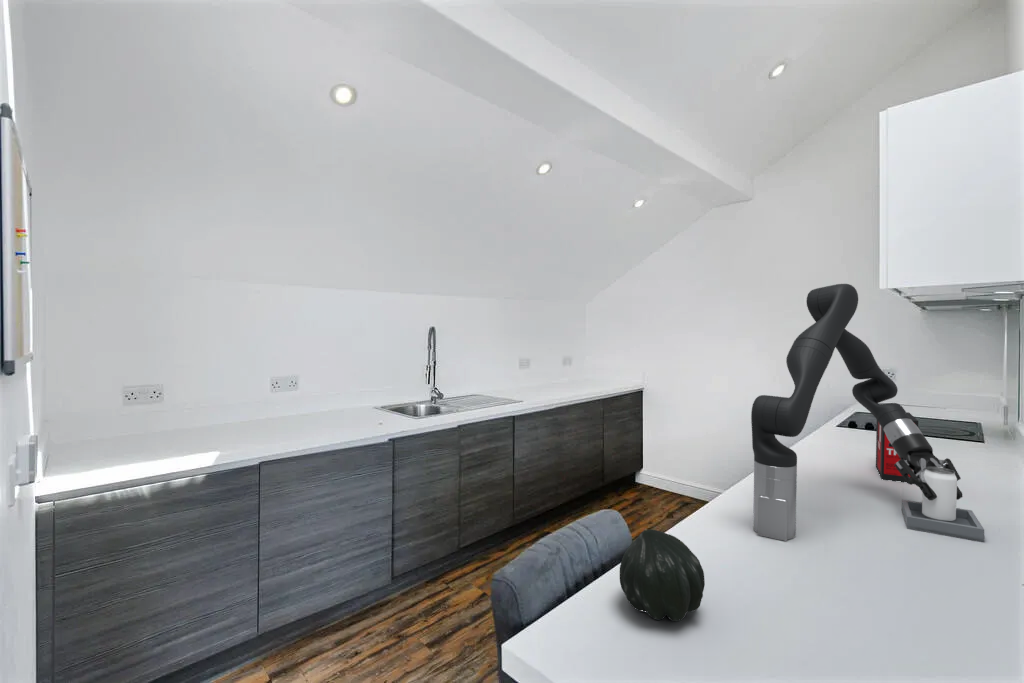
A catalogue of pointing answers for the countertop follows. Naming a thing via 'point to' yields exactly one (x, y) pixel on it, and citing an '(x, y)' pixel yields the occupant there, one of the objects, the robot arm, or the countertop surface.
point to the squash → (661, 576)
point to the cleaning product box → (888, 455)
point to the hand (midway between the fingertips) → (946, 498)
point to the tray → (943, 522)
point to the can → (940, 494)
